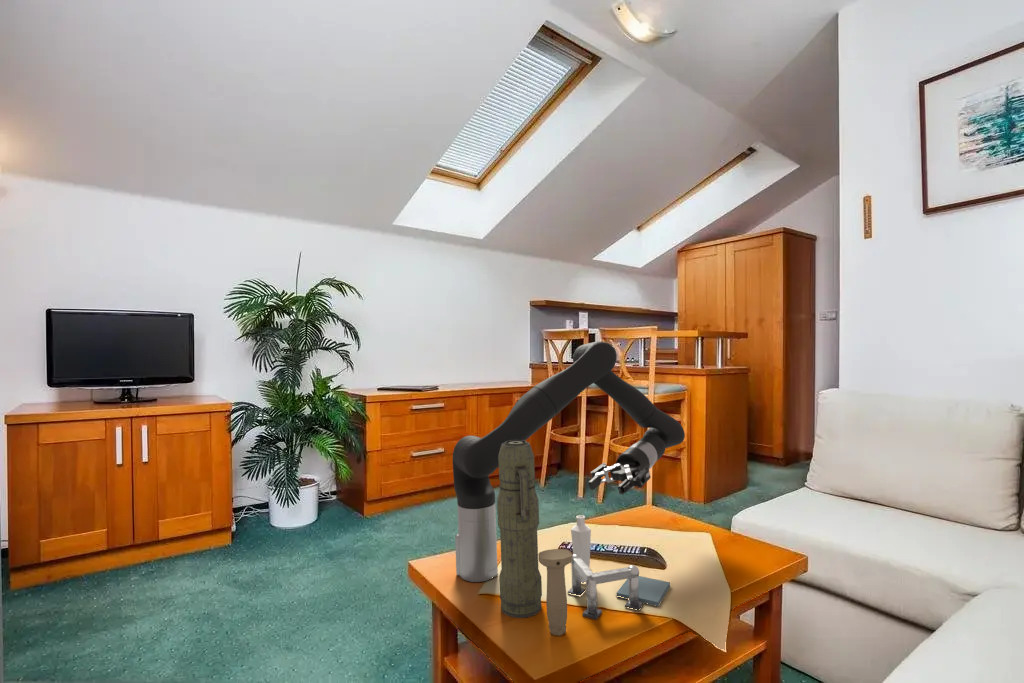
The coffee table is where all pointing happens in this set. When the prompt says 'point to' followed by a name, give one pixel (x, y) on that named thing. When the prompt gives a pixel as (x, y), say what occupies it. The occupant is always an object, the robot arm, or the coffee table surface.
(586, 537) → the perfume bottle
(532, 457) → the thermos
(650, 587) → the slate mat
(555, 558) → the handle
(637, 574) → the bent rail
